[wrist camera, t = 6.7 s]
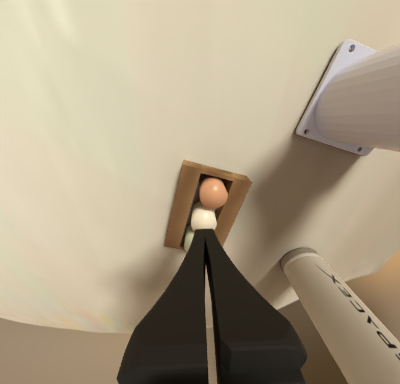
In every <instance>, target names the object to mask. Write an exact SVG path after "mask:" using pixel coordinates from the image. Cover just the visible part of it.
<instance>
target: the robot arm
mask: <svg viewBox="0 0 400 384" xmlns="http://www.w3.org/2000/svg"><path fill="white" fill-rule="evenodd" d="M349 47H351V51H350V52H349ZM305 130H307V132H306V133H305V134H304V131H305ZM296 134H297V135H299V136H303V137H306V138H309V139H312V140H315V141H318V142H321V143H324V144H327V145H331V146H334V147H337V148H340V149H343V150H346V151H349V152H352V153H355V154H359V155H362V156H366V155H368V154H369V153H370V152H371V151H372V150H373V148H379V149H385V150H392V151H398V152H400V44H397V45H394V46H392V47H389V48H387V49H384V50H381V51H379V52H378V51H376V50H374V49H372V48H369V47H367V46H365V45H363V44H360V43H358V42H356V41H354V40H352V39H347V40H345V41H343V42H342V43H341V44H340V45H339V47H338V49H337V51H336V53H335V55H334V57H333V59H332V61H331V62H330V64H329V66H328V68H327V70H326V72H325V74H324V76H323V78H322V80H321V82H320V84H319V86H318V88H317V90H316V92H315V94H314V96H313V98H312V100H311V102H310V104H309V105H308V107H307V109H306V111H305V113H304V115H303V117H302V119H301V121H300V123H299V125H298V127H297V129H296ZM358 148H359V149H358ZM206 268H207V274H208V281H209V287H210V294H211V302H212V315H213V329H214V342H215V356H216V370H217V383H218V384H305V380H304V378H303V375H302V373H301V371H300V369H301V367H302V366H303V364H304V363H305V362H306V359H307V353H306V350H305V348H304V346H303V344H302V342H301V340H300V338H299V337H298V335H297V333H296V331H295V330H294V328H293V326H292V325H291V323H290V322H289V321H288V320H287V319H286V318H285V317H284V316H283V315H282V314H280V313H279V312H278V311H277V310H276V309H275V308H274V307H273V306H272V305H270V304H269V303H268V302H267V301H266V300H265V299H264V298H263V297H262V296H261V295H260V294H259V293H258V292H257V291H256V290H255V289H254V287H253V286H252V285H251V284H250V283H249V282H248V281H247V280H246V279H245V278H244V276H243V275H242V274H241V273H240V272H239V270H238V269H237V268H236V267H235V265H234V264H233V263H232V261H231V260H230V258H229V257H228V255H227V254H226V252H225V251H224V249H223V247H222V246H221V244H220V242H219V240H218V238H217V236H216V234H215V232H214V229H212V228H210V229H196V230H195V231H194V236H193V239H192V242H191V245H190V247H189V250H188V252H187V254H186V256H185V258H184V260H183V262H182V264H181V266H180V268H179V270H178V272H177V273H176V275H175V277H174V278H173V280H172V281H171V283H170V284H169V286H168V287H167V289H166V290H165V292H164V293H163V294H162V296H161V297H160V298H159V300H158V301H157V302H156V304H155V305H154V306H153V307H152V309H151V310H150V311H149V312H148V313H147V315H146V316H145V317H144V318H143V319H142V321H141V322H140V323H139V324H138V325H137V326H136V328H135V329H134V331H133V334H132V336H131V338H130V340H129V343H128V345H127V348H126V350H125V353H124V356H123V360H122V362H121V367H120V369H119V372H118V376H117V381H118V383H119V384H209V383H208V361H207V340H206V318H205V269H206Z"/></svg>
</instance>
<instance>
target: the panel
mask: <svg viewBox="0 0 400 384" xmlns="http://www.w3.org/2000/svg"><path fill="white" fill-rule="evenodd" d="M201 173H203V174H207V175H211V176H215V177H219V178H223V179H227V180H228V181H227V184H226V186H225V188H226V191H227V193H228V198H227V201H226V203H225V204H224V205H223V206H221V207H219V208H217V210H216V213H215V217H216V222H217V226H216V228H215V230H214V232H215V234H216V236H217V238H218V240H219V242H220V244H221V246H222V247H223V245H224V242H225V240H226V238H227V236H228V234H229V232H230V229H231V227H232V225H233V223H234V221H235V218H236V216H237V214H238V212H239V210H240V208H241V205H242V203H243V201H244V199H245V197H246V194H247V192H248V190H249V188H250V186H251V183H252V182H251V181H250V180H249V179H248V178H247V176H243V175H239V174H235V173H232V172H228V171H224V170H220V169H216V168H213V167H209V166H205V165H201V164H197V163H194V162H190V161H186V160H184V162H183V165H182V169H181V174H180V178H179V183H178V187H177V191H176V196H175V200H174V205H173V209H172V213H171V218H170V222H169V227H168V231H167V235H166V240H165V244H164V246H166V247H172V248H177V249H183V250H184V243H185V237H182V236H183V233H184V229H185V226H186V222H187V219H188V215H189V212H190V209H191V205H192V202H193V198H194V195H195V191H196V188H197V184H198V181H199V177H200V174H201Z"/></svg>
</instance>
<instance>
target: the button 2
mask: <svg viewBox="0 0 400 384" xmlns="http://www.w3.org/2000/svg"><path fill="white" fill-rule="evenodd" d="M199 192H200V201H201V203H202V204H203V205H204V206H205V207H207V208H210V209H216V208H219V207H221V206H223V205H224V204H225V203H226V201H227V198H228V193H227V191H226V188H225V186H224V184H223V182H222V180H221V178H219V177H215V176H211V175H206V176H205V177H203V178H202V179H201V181H200V183H199Z"/></svg>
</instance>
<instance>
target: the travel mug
mask: <svg viewBox="0 0 400 384" xmlns="http://www.w3.org/2000/svg"><path fill="white" fill-rule="evenodd" d="M281 268H282V270H283V272H284V273H285V275H286V277H287V279H288V280H289V282H290V284H291V285H292V287H293V289H294V291H295V292H296V294H297V296H298V297H299V299H300V301H301V303H302V304H303V306H304V307H305V309H306V311H307V313H308V315H309V316H310V318H311V320H312V321H313V323H314V325H315V327H316V328H317V330H318V332H319V333H320V335H321V337H322V339H323V340H324V342H325V344H326V346H327V347H328V349H329V351H330V352H331V354H332V356H333V358H334V359H335V361H336V363H337V364H338V366H339V368H340V370H341V371H342V373H343V375H344V377H345V378H346V380H347V382H348V383H349V384H400V342H399V341H398V340H397V339H396V338H395V337H394V336H393V335H392V334H391V333H390V332H389V330H388V329H387V328H386V327H385V326H384V325H383V324H382V323H381V322H380V321H379V320H378V319H377V318H376V316H375V315H374V314H373V313H372V312H371V311H370V310H369V309H368V308H367V307H366V306H365V304H364V303H363V302H362V301H361V300H360V299H359V298H358V297H357V296H356V295H355V293H354V292H353V291H352V290H351V289H350V288H349V287H348V286H347V285H346V284H345V283H344V281H343V280H342V279H341V278H340V277H339V276H338V275H337V274H336V273H335V272H334V271H333V270H332V268H331V267H330V266H329V265H328V264H327V263H326V262H325V261H324V260H323V259H322V258H321V256H320V255H319V254H318V253H317V252H316V251H315V250H313V249H310V248H299V249H295V250H293V251H291V252H289V253H288V254H286V255H285V256H284V257H283V259H282V261H281Z"/></svg>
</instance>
